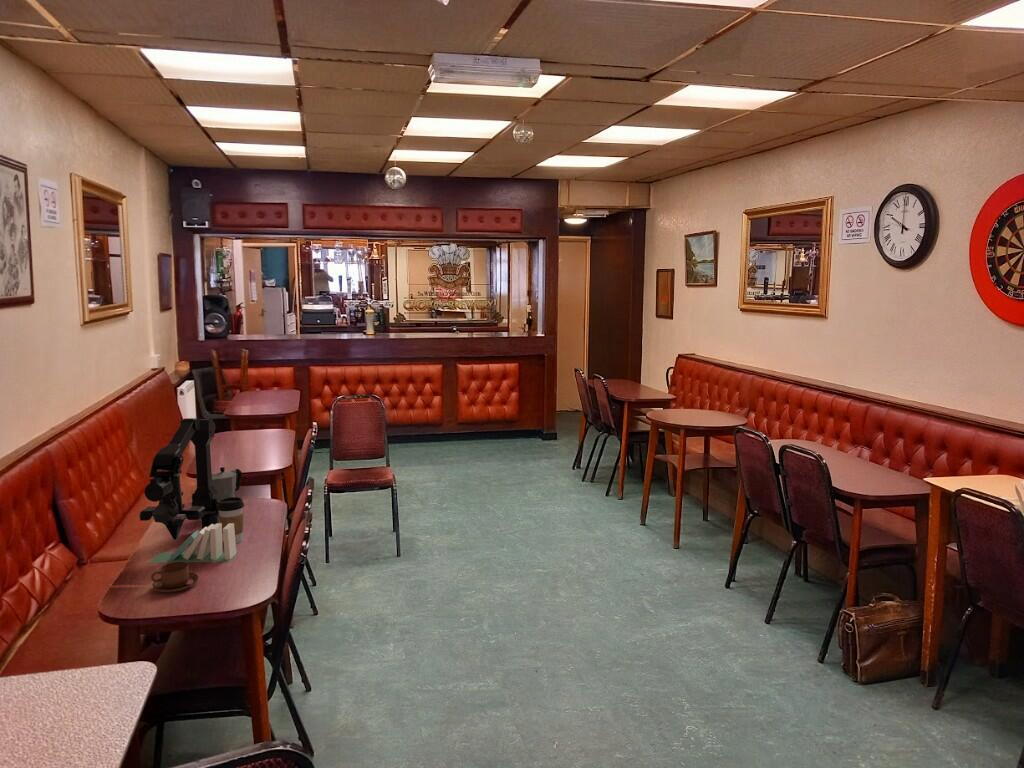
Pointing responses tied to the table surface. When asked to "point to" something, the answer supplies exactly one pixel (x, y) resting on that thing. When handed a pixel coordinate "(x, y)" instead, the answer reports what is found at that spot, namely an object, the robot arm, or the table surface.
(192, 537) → the domino
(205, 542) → the domino
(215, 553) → the domino
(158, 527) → the table surface
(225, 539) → the domino
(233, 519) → the coffee cup
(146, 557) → the table surface
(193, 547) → the domino
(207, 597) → the table surface
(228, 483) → the coffeepot
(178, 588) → the cup and saucer
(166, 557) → the baize strip
